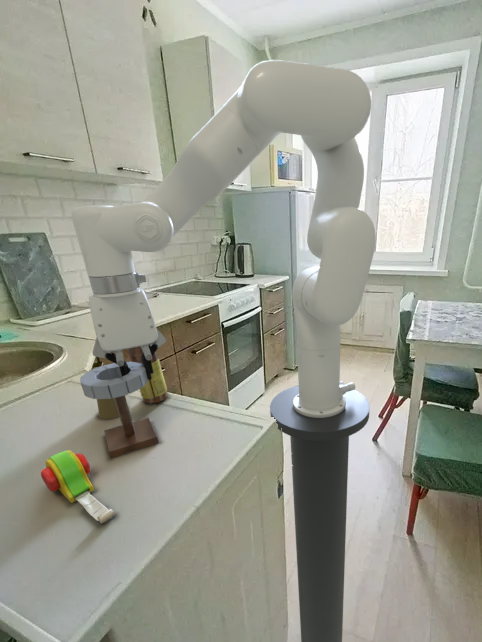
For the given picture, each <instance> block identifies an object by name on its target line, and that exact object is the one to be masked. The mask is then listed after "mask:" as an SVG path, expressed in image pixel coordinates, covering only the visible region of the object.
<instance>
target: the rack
mask: <svg viewBox="0 0 482 642" xmlns="http://www.w3.org/2000/svg"><path fill="white" fill-rule="evenodd" d="M114 400H115V403H116V406H117V410H118V413H119V416H118V417H119V419H120V423H121V425H118V426H115V427H111V428H108V429H105V430H104V435H105V440H106V444H107V449H108V450H107V451H108V453H109V457H110V459H113V458H116V457H120V456H122V455H125V454H128V453H131V452H134V451H137V450H142V449H145V448H147V447H150V446H153V445H156V444H159V439H158V436H157V433H156V431H155V429H154V426H153V424H152V422H151V419H150V418H149V417H145V418H142V419H139V420H135V421H133V419H132V415H131V411H130V409H129V403H128V400H127V398H126V395H124V396H120V397H116V398H114Z"/></svg>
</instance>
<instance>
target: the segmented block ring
mask: <svg viewBox="0 0 482 642" xmlns="http://www.w3.org/2000/svg"><path fill="white" fill-rule="evenodd" d="M126 363H127V365H128V368H129V373H128V374H127V375H125V376H123V377H122V375H121V371H120V368H119V366H118V365H117V364H115V363H113V362H112V363H109V364H103V365H100V366H98V367H95V368H92V369H89V370H88V371H87V372H84V374H83V375H82V376H81V377H80V378H79V380H80V385H81V389H82V392H83V394H84V396H85V397H86V398H90V399H92V400H97V399H111V398H116V397H120V396H124V395H125V396H128V395H129V394H130V395H131V394H133V393H135V392H137V391H138V390H139V391H140V389H141V388H142V387H144V385H145V384H146V383H147V382H148V378H147V374H146V370H145V367H144V366H143V364H141V363H136V362H131V361H126Z"/></svg>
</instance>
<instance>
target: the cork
mask: <svg viewBox="0 0 482 642" xmlns="http://www.w3.org/2000/svg"><path fill="white" fill-rule="evenodd" d="M96 403H97V410H98V416H99V418H101V419H103V420H109V419H110V420H111V419H114V418H117V417H120V416H119V413H118V410H117V406H116V403H115V400H114V398H111V399H96Z"/></svg>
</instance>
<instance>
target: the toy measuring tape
mask: <svg viewBox="0 0 482 642" xmlns="http://www.w3.org/2000/svg"><path fill="white" fill-rule="evenodd" d="M45 466H46V467H45V468H43V469H42V470H41V471H40V476H41V478H42V480H43V483H44V484H45V486H46V488H47V489H48V490H49V491H50V492H55V491H57V490H59V492H60V493H61V494H62V495H63V496H64V497H65V498H66V500H68V502H69V503H71V504H73V503H75V502H78V503H79V504H80V505H81V506H82V507H83V508H84V510H85V511H86V513H88V514H89V515H90V516H91V518H93V519H94V520H95V521H96V522H99V524H100V525H103V524H105V522H107V521H109V520H110V519H112V518H113V517H115V516H116V515H115V511H114V509H111V508H107V506H105V505H104V504H103V503H101V502H100V501H99V500H98V499H97V498H95V496H93V495H92V494H91V493H93V492H95V489H94V486H93V484H92V482H91V481H90V479H89V477H88V474H90V473H91V471H92V469H91V465H90V462H89V460H88V459H87V458H86V456H85V455H84V454H83V453H81V452H79V453H74V452H73V451H72V450H70V449H68V450H62V451H61V452H59V453H56V454H53V455H51V456H49V457H48V458H47V459H46V460H45Z"/></svg>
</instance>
